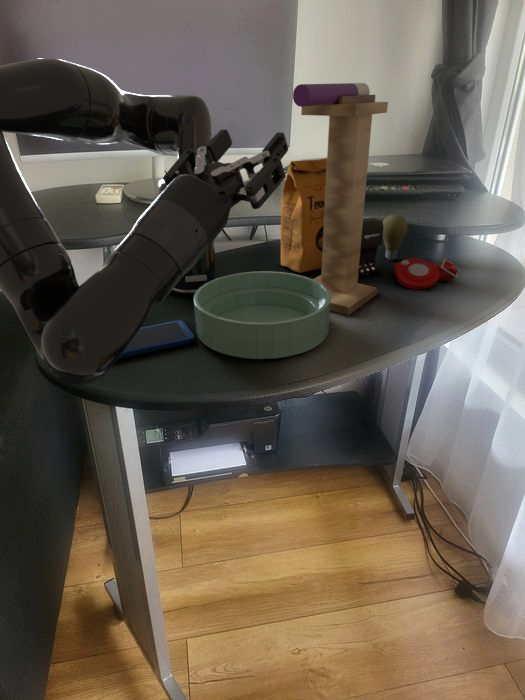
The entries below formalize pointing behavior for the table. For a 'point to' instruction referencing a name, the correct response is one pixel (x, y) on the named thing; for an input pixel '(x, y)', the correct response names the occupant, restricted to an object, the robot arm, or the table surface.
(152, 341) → the cell phone
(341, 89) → the glue stick
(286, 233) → the coffee package
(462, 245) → the table surface
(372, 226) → the battery charger
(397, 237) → the light bulb
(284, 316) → the bowl
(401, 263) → the tracker holder
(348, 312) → the stand
